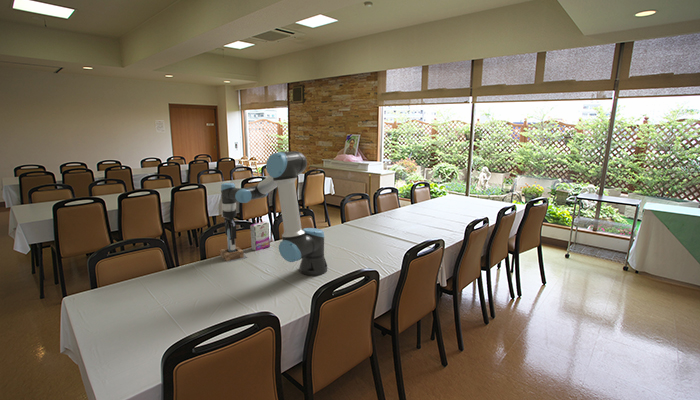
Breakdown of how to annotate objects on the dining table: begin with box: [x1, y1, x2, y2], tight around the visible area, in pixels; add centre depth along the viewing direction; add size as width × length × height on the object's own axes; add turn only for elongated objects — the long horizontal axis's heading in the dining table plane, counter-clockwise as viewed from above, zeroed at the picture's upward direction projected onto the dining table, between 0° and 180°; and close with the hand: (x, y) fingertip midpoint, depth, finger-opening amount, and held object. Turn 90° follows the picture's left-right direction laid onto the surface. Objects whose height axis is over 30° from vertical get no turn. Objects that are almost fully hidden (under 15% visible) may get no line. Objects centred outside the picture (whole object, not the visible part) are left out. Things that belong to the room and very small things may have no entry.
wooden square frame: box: [220, 246, 245, 262], centre depth 204 cm, size 10×10×4 cm
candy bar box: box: [250, 221, 271, 252], centre depth 219 cm, size 11×5×16 cm, turn 143°
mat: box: [219, 253, 249, 263], centre depth 205 cm, size 14×12×1 cm
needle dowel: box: [226, 229, 235, 253], centre depth 202 cm, size 4×4×16 cm
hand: (231, 248), depth 203 cm, fingers closed on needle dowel, 4 cm apart
